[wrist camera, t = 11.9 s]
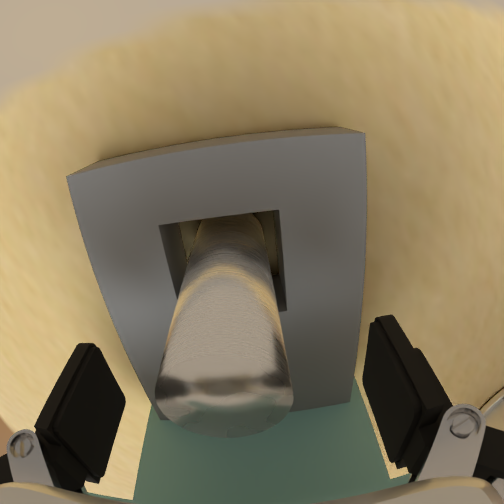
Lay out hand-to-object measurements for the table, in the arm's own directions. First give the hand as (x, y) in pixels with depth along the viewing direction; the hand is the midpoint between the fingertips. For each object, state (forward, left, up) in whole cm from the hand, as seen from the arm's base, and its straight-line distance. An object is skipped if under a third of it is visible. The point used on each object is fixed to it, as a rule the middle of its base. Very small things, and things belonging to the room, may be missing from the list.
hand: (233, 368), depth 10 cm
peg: (0, 0, -10) cm, 10 cm away
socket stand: (0, +4, -10) cm, 11 cm away
